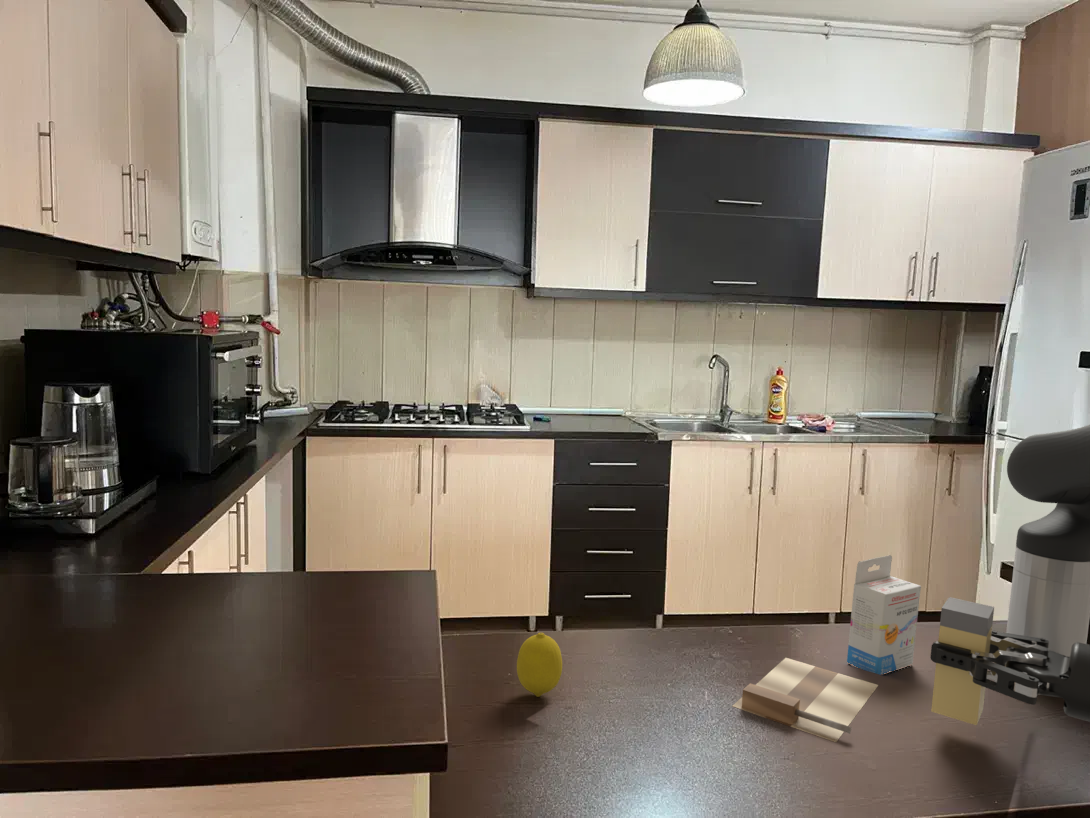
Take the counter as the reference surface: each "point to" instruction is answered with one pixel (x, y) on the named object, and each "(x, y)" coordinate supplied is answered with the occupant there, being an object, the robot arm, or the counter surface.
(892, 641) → the ink box
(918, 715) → the counter surface
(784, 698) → the awl
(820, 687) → the plywood panel
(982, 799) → the counter surface
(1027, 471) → the robot arm
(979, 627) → the yellow block grey top
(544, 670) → the lemon
